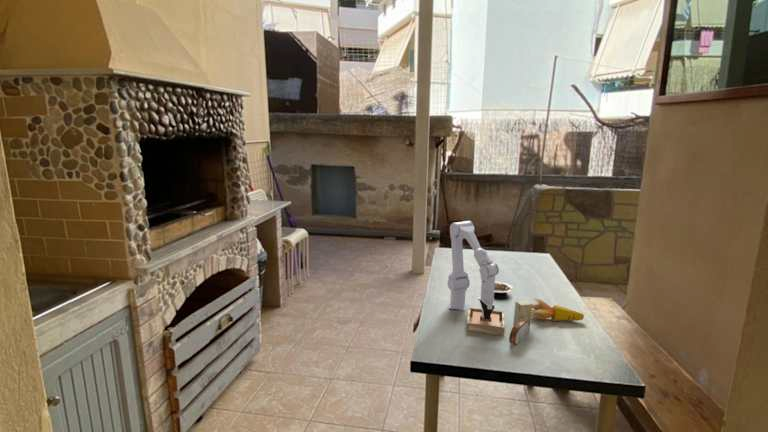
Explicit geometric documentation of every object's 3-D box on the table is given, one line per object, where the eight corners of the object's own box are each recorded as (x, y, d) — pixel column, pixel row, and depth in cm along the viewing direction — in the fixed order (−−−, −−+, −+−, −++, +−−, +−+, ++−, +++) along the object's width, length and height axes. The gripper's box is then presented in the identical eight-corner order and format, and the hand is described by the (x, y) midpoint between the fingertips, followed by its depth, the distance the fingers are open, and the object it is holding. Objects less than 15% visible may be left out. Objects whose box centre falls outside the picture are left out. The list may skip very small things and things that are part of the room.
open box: (468, 315, 198) (469, 307, 198) (503, 319, 194) (503, 311, 194) (466, 331, 183) (466, 322, 182) (503, 336, 179) (504, 327, 179)
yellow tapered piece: (580, 330, 192) (525, 319, 195) (578, 316, 198) (524, 306, 201) (587, 320, 186) (530, 309, 190) (584, 306, 192) (529, 296, 195)
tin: (521, 332, 183) (523, 314, 181) (528, 334, 181) (530, 317, 179) (507, 346, 171) (509, 328, 169) (515, 349, 169) (516, 330, 168)
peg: (480, 320, 190) (481, 306, 189) (488, 320, 190) (488, 306, 189) (482, 323, 187) (483, 309, 185) (490, 323, 187) (490, 309, 185)
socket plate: (472, 316, 196) (473, 311, 195) (498, 319, 193) (499, 314, 192) (471, 328, 185) (471, 323, 184) (499, 331, 182) (499, 326, 181)
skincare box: (518, 330, 184) (520, 305, 181) (512, 326, 188) (514, 301, 185) (530, 328, 186) (533, 303, 183) (525, 324, 190) (527, 299, 187)
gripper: (476, 282, 192) (474, 309, 195) (481, 295, 178) (479, 324, 181) (491, 283, 192) (489, 309, 195) (498, 296, 178) (495, 324, 181)
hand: (485, 316), depth 188 cm, fingers closed on peg, 3 cm apart
